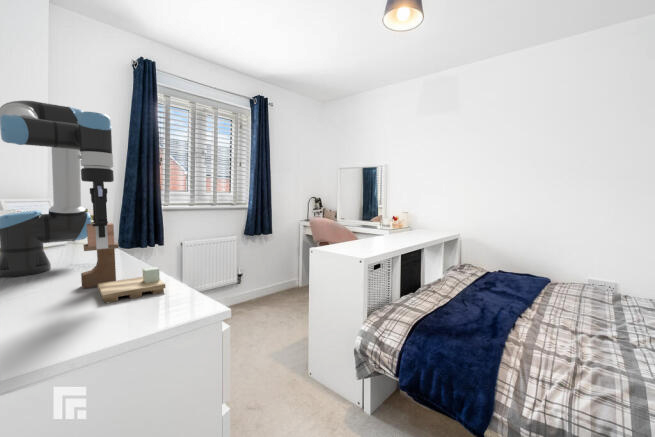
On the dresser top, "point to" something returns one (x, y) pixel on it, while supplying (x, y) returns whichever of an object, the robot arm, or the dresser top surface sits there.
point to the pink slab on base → (92, 238)
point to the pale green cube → (150, 274)
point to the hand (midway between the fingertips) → (101, 246)
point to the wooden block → (100, 269)
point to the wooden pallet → (128, 288)
